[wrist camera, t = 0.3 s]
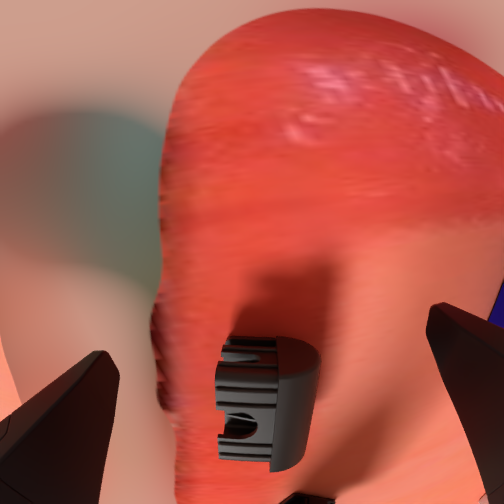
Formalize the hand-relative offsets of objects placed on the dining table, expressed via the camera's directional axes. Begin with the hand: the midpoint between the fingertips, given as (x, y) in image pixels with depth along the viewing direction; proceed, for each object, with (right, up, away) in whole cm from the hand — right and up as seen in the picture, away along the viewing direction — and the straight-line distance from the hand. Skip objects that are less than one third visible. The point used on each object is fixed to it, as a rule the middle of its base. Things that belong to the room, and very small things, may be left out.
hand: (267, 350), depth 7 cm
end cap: (+1, -9, +17) cm, 20 cm away
